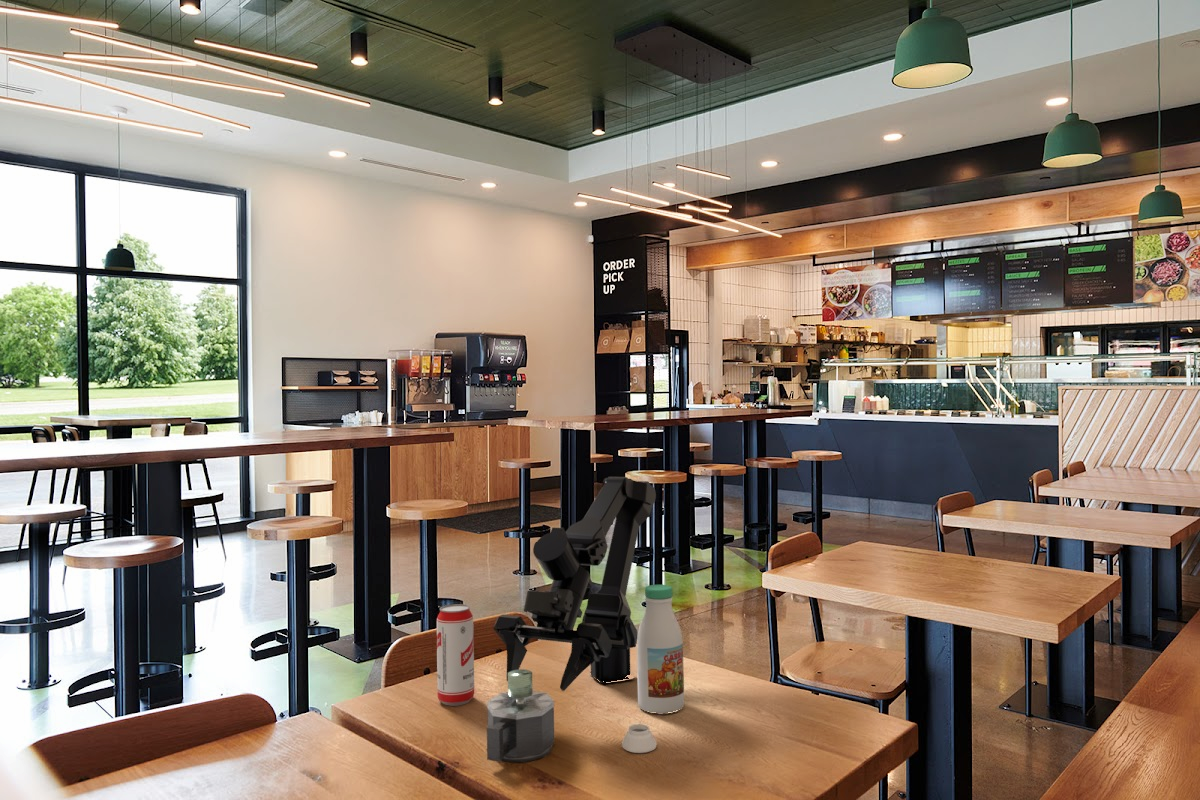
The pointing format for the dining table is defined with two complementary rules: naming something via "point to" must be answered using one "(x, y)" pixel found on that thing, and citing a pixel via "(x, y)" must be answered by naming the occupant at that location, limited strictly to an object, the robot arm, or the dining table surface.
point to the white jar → (639, 739)
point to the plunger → (520, 684)
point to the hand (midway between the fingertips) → (534, 685)
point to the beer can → (455, 655)
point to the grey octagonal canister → (520, 727)
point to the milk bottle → (660, 654)
